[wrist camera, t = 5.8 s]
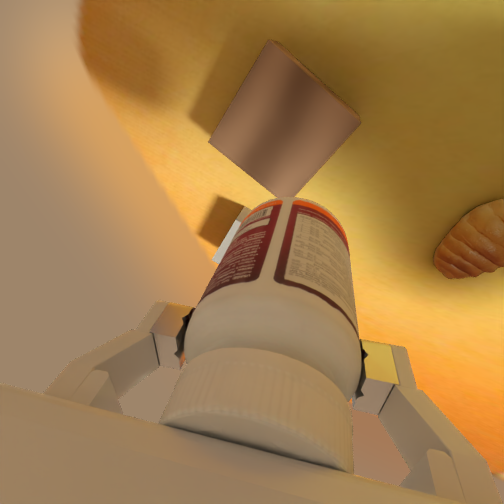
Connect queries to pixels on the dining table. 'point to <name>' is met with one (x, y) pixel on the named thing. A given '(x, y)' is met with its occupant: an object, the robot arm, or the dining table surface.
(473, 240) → the pastry
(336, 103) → the walnut block
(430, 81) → the dining table surface
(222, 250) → the grey block
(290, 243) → the pill bottle
